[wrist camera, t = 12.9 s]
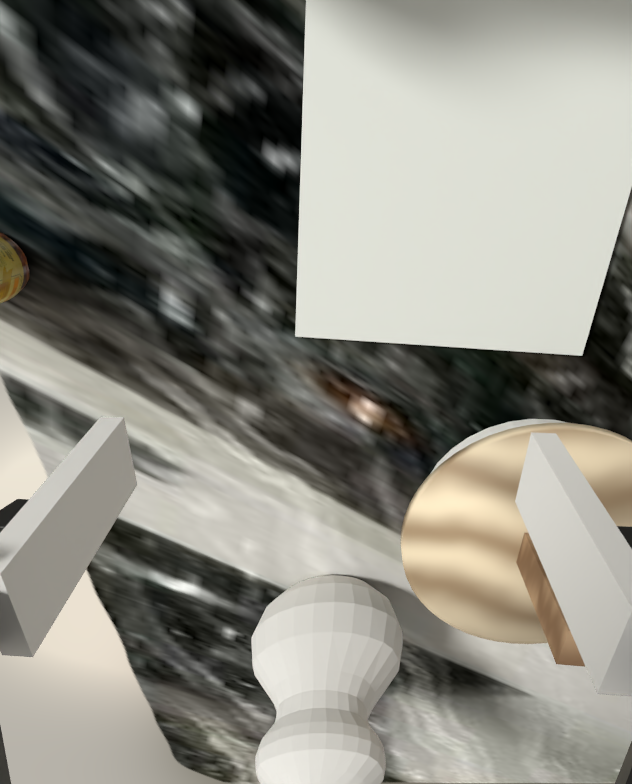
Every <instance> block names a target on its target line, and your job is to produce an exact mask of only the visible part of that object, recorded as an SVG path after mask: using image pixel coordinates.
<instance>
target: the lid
mask: <svg viewBox="0 0 632 784" xmlns="http://www.w3.org/2000/svg"><path fill="white" fill-rule="evenodd" d="M531 432H532V433H556V434H557V435H558V437H559V439H560V440H561V442H562V443H563V445H564V446H565V448H566V449H567V451H568V452H569V454H570V455H571V457H572V458H573V460H574V461H575V463H576V465H577V466H578V468H579V469H580V471H581V472H582V474H583V475H584V477H585V478H586V480H587V481H588V483H589V484H590V486H591V487H592V489H593V491H594V492H595V494H596V495H597V497H598V498H599V500H600V501H601V503H602V504H603V506H604V507H605V509H606V510H607V512H608V513H609V515H610V517H611V518H612V520H613V521H614V523H615V524H616V526H626V527H632V440H630V439H628V438H626V437H624V436H622V435H619V434H617V433H614V432H612V431H609V430H606V429H602V428H598V427H594V426H590V425H582V424H574V423H542V424H532V425H526V426H521V427H516V428H511V429H507V430H504V431H501V432H498V433H495V434H492V435H489V436H487V437H485V438H482V439H480V440H478V441H476V442H474V443H471V444H470V445H468V446H466V447H465V448H463V449H461V450H460V451H458V452H456V453H455V454H453V455H452V456H451V457H449V458H448V459H447V460H445V461H444V462H443V463H441V464H440V465H439V466H438V467H437V468H436V469H435V470H434V471H433V472H432V473H431V474H430V475H429V476H428V477H427V478H426V480H425V481H424V482H423V483H422V485H421V486H420V487H419V488H418V490H417V492H416V493H415V495H414V497H413V498H412V500H411V502H410V504H409V506H408V509H407V511H406V514H405V516H404V521H403V525H402V530H401V551H402V559H403V566H404V570H405V573H406V577H407V579H408V581H409V583H410V586H411V588H412V590H413V591H414V593H415V594H416V595H417V597H418V598H419V600H420V601H421V602H422V603H423V604H424V605H425V606H426V607H427V608H428V609H429V611H431V612H432V613H433V614H434V615H436V616H437V617H438V618H439V619H441V620H442V621H444V622H446V623H447V624H449V625H451V626H452V627H454V628H457V629H459V630H461V631H463V632H465V633H468V634H471V635H474V636H477V637H480V638H484V639H488V640H493V641H498V642H506V643H518V644H536V643H548V644H549V646H550V649H551V651H552V654H553V657H554V659H555V662H556V664H562V665H574V666H585V664H584V662H583V659H582V657H581V655H580V652H579V650H578V648H577V645H576V643H575V641H574V638H573V636H572V634H571V631H570V629H569V627H568V624H567V622H566V620H565V617H564V615H563V613H562V610H561V608H560V605H559V603H558V601H557V598H556V596H555V594H554V591H553V589H552V587H551V584H550V582H549V580H548V577H547V575H546V573H545V570H544V568H543V566H542V563H541V561H540V559H539V556H538V554H537V552H536V549H535V547H534V545H533V542H532V540H531V538H530V535H529V533H528V530H527V528H526V526H525V523H524V521H523V519H522V516H521V514H520V512H519V509H518V507H517V505H516V502H515V500H516V495H517V491H518V487H519V483H520V478H521V474H522V470H523V465H524V461H525V457H526V453H527V448H528V444H529V440H530V435H531Z"/></svg>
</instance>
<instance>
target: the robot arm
mask: <svg viewBox="0 0 632 784" xmlns="http://www.w3.org/2000/svg"><path fill="white" fill-rule="evenodd" d="M136 486H137V481H136V476H135V471H134V466H133V461H132V456H131V451H130V446H129V441H128V436H127V431H126V426H125V421H124V417H100V418H99V420H98V421H97V422H96V423H95V424H94V425H93V427H92V428H91V429H90V430H89V431H88V432H87V433H86V435H85V436H84V437H83V438H82V439H81V440H80V441H79V443H78V444H77V445H76V446H75V447H74V448H73V450H72V451H71V452H70V453H69V454H68V455H67V456H66V458H65V459H64V460H63V461H62V462H61V463H60V465H59V466H58V467H57V468H56V469H55V470H54V471H53V473H52V474H51V475H50V476H49V477H48V478H47V479H46V481H45V482H44V483H43V484H42V485H41V486H40V488H39V489H38V490H37V491H36V492H35V493H34V494H33V496H32V497H31V498H30V499H29V500H25V499H17V500H15V501H14V502H12V503H11V504H9V505H8V506H6V507H4V508H3V509H1V510H0V651H1V653H2V655H10V656H25V657H33V656H34V654H35V653H36V651H37V649H38V648H39V646H40V645H41V643H42V641H43V640H44V638H45V636H46V634H47V633H48V631H49V629H50V628H51V626H52V625H53V623H54V621H55V620H56V618H57V616H58V615H59V613H60V611H61V610H62V608H63V606H64V605H65V603H66V601H67V600H68V598H69V597H70V595H71V593H72V592H73V590H74V588H75V587H76V585H77V583H78V582H79V580H80V578H81V577H82V575H83V573H84V572H85V570H86V568H87V567H88V565H89V563H90V562H91V560H92V558H93V557H94V555H95V553H96V552H97V550H98V549H99V547H100V545H101V544H102V542H103V540H104V539H105V537H106V535H107V534H108V532H109V530H110V529H111V527H112V525H113V524H114V522H115V520H116V519H117V517H118V515H119V514H120V512H121V510H122V509H123V507H124V505H125V504H126V502H127V501H128V499H129V497H130V496H131V494H132V492H133V491H134V489H135V487H136ZM515 502H516V505H517V507H518V509H519V512H520V514H521V516H522V519H523V521H524V523H525V526H526V528H527V530H528V533H529V535H530V538H531V540H532V542H533V545H534V547H535V549H536V552H537V554H538V556H539V559H540V561H541V563H542V566H543V568H544V570H545V573H546V575H547V577H548V580H549V582H550V584H551V587H552V589H553V591H554V594H555V596H556V598H557V601H558V603H559V605H560V608H561V610H562V613H563V615H564V617H565V620H566V622H567V624H568V627H569V629H570V631H571V634H572V636H573V638H574V641H575V643H576V645H577V648H578V650H579V652H580V655H581V657H582V659H583V662H584V664H585V666H586V669H587V671H588V673H589V676H590V678H591V680H592V683H593V685H594V688H595V690H596V692H597V694H606V695H621V696H632V527H626V526H616V524H615V523H614V521H613V520H612V518H611V517H610V515H609V513H608V512H607V510H606V509H605V507H604V506H603V504H602V503H601V501H600V500H599V498H598V497H597V495H596V494H595V492H594V491H593V489H592V487H591V486H590V484H589V483H588V481H587V480H586V478H585V477H584V475H583V474H582V472H581V471H580V469H579V468H578V466H577V465H576V463H575V461H574V460H573V458H572V457H571V455H570V454H569V452H568V451H567V449H566V448H565V446H564V445H563V443H562V442H561V440H560V439H559V437H558V435H557V434H556V433H532V432H531V435H530V440H529V444H528V448H527V453H526V457H525V461H524V465H523V470H522V474H521V478H520V483H519V487H518V491H517V495H516V500H515ZM0 784H11V781H10V776H9V770H8V765H7V759H6V754H5V748H4V743H3V738H2V732H1V727H0ZM615 784H632V742H631V744H630V747H629V749H628V752H627V755H626V757H625V760H624V762H623V765H622V767H621V770H620V772H619V775H618V777H617V780H616V782H615Z"/></svg>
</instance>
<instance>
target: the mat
mask: <svg viewBox="0 0 632 784" xmlns="http://www.w3.org/2000/svg"><path fill="white" fill-rule="evenodd" d="M631 188H632V0H306V19H305V50H304V81H303V112H302V144H301V175H300V206H299V237H298V268H297V299H296V330H295V337H310V338H325V339H340V340H354V341H369V342H384V343H399V344H414V345H429V346H444V347H459V348H473V349H488V350H503V351H518V352H533V353H548V354H563V355H578V356H582V355H583V351H584V348H585V344H586V341H587V338H588V334H589V331H590V327H591V324H592V321H593V317H594V314H595V310H596V307H597V304H598V300H599V297H600V293H601V290H602V287H603V283H604V280H605V276H606V273H607V269H608V266H609V263H610V259H611V256H612V252H613V249H614V246H615V242H616V239H617V235H618V232H619V229H620V225H621V222H622V218H623V215H624V212H625V208H626V205H627V201H628V198H629V194H630V191H631Z"/></svg>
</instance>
